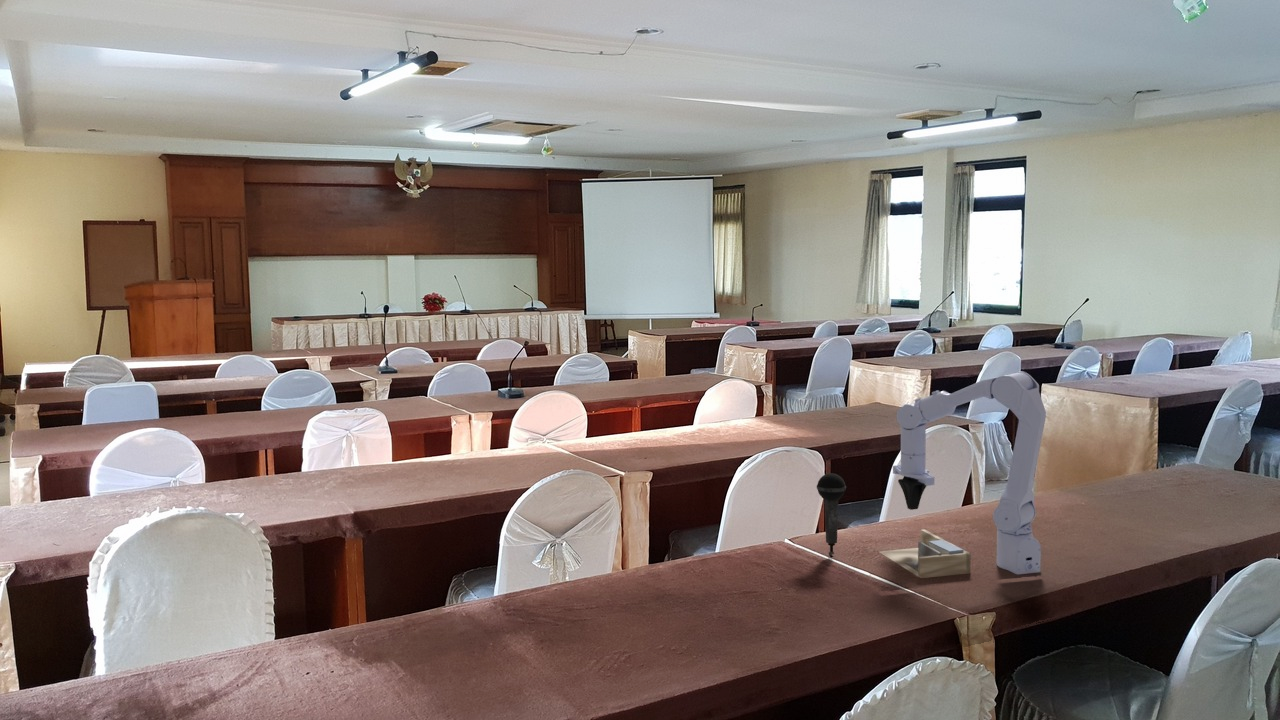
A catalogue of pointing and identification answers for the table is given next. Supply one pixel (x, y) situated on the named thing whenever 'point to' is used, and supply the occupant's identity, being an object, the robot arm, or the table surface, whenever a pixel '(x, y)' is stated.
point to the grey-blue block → (944, 547)
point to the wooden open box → (930, 559)
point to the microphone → (831, 504)
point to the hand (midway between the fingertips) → (912, 508)
